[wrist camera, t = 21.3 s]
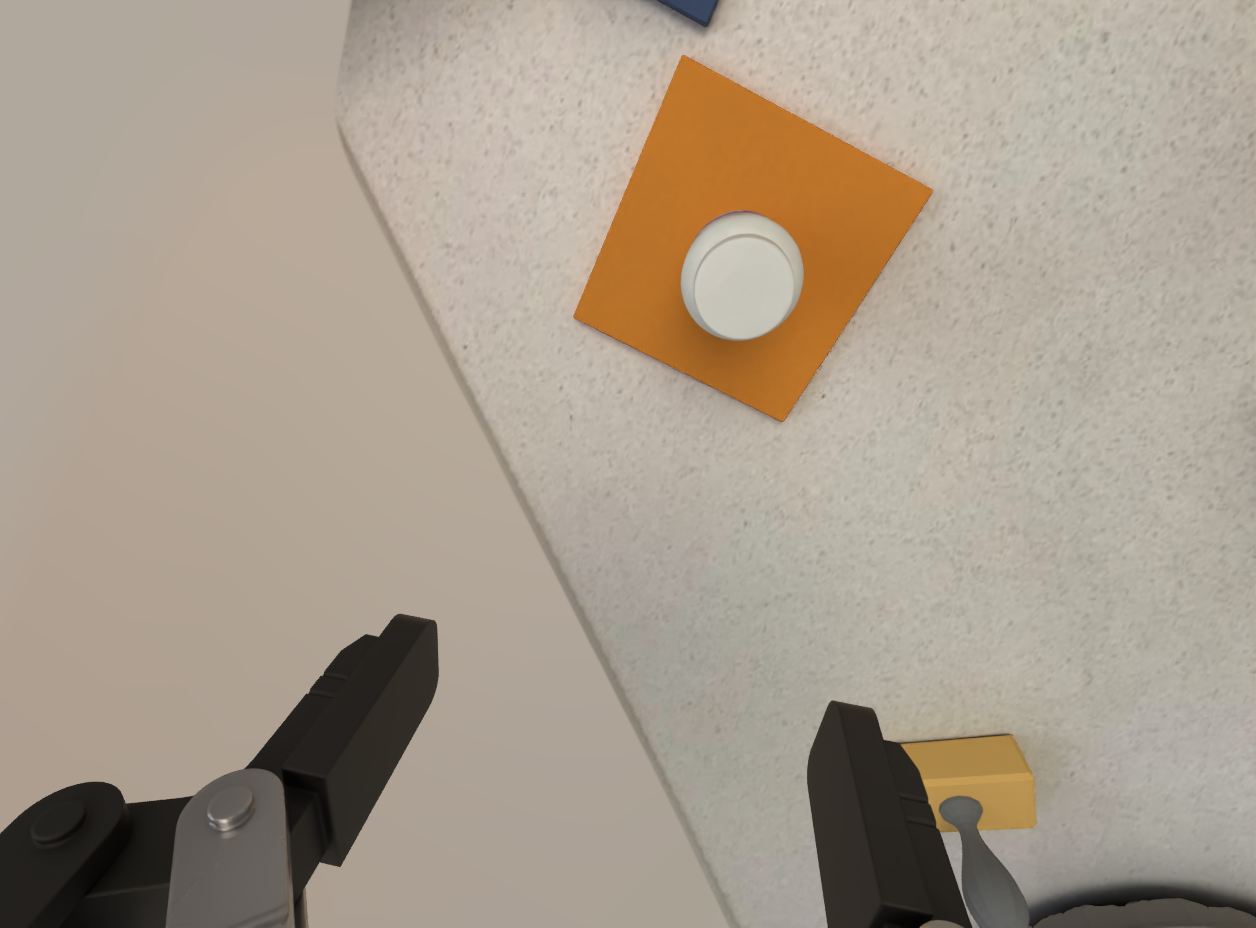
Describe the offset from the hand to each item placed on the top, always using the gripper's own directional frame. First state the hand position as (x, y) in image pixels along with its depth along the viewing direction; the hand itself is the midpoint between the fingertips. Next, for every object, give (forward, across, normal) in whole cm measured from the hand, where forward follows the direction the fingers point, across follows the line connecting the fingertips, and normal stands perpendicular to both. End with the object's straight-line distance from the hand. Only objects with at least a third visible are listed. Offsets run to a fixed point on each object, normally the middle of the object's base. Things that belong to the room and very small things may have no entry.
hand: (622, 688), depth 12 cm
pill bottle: (+26, -2, -6) cm, 26 cm away
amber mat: (+26, -2, -6) cm, 27 cm away
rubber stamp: (+26, -25, +29) cm, 47 cm away
